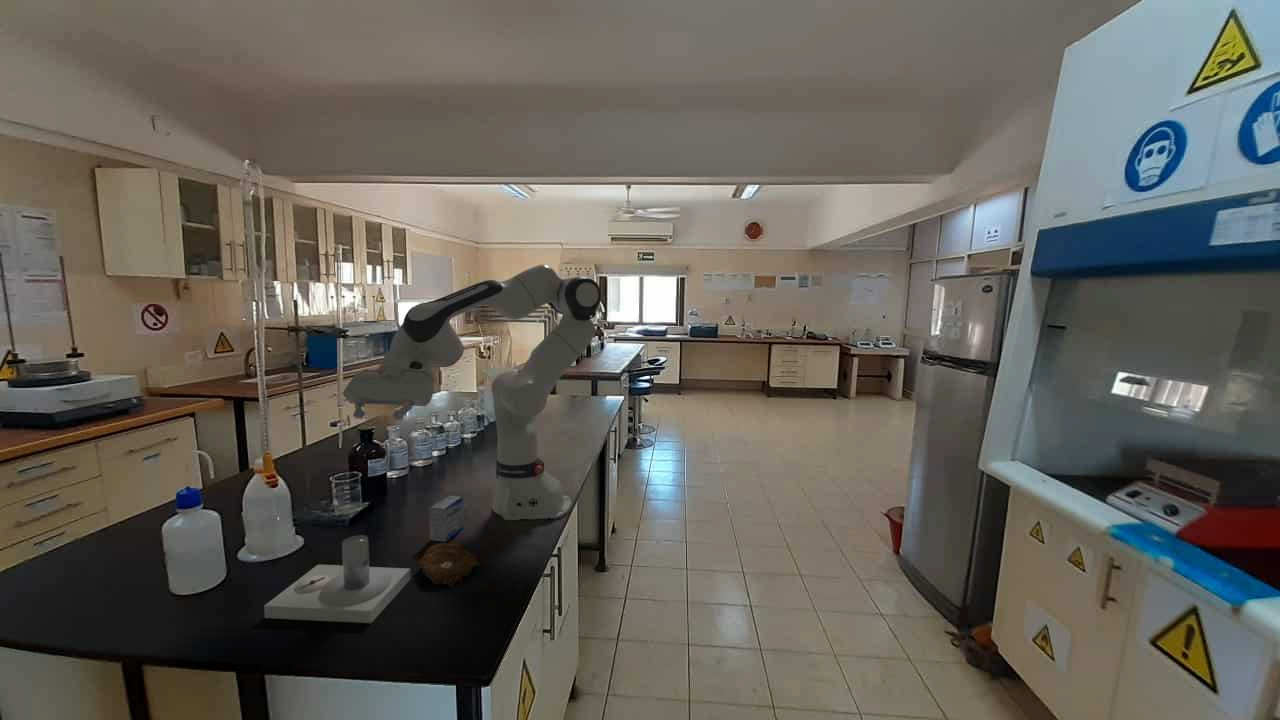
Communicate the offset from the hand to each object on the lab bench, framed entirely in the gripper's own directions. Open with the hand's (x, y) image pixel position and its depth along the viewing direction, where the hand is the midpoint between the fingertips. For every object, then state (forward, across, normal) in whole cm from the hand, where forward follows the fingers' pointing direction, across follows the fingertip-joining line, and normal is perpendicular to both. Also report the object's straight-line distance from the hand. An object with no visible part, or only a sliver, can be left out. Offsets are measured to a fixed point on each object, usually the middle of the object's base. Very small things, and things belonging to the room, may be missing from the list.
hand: (377, 418), depth 111 cm
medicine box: (+18, +13, +27) cm, 35 cm away
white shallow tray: (+37, +4, +8) cm, 38 cm away
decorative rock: (+28, +20, +17) cm, 38 cm away
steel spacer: (+34, +7, +6) cm, 36 cm away
